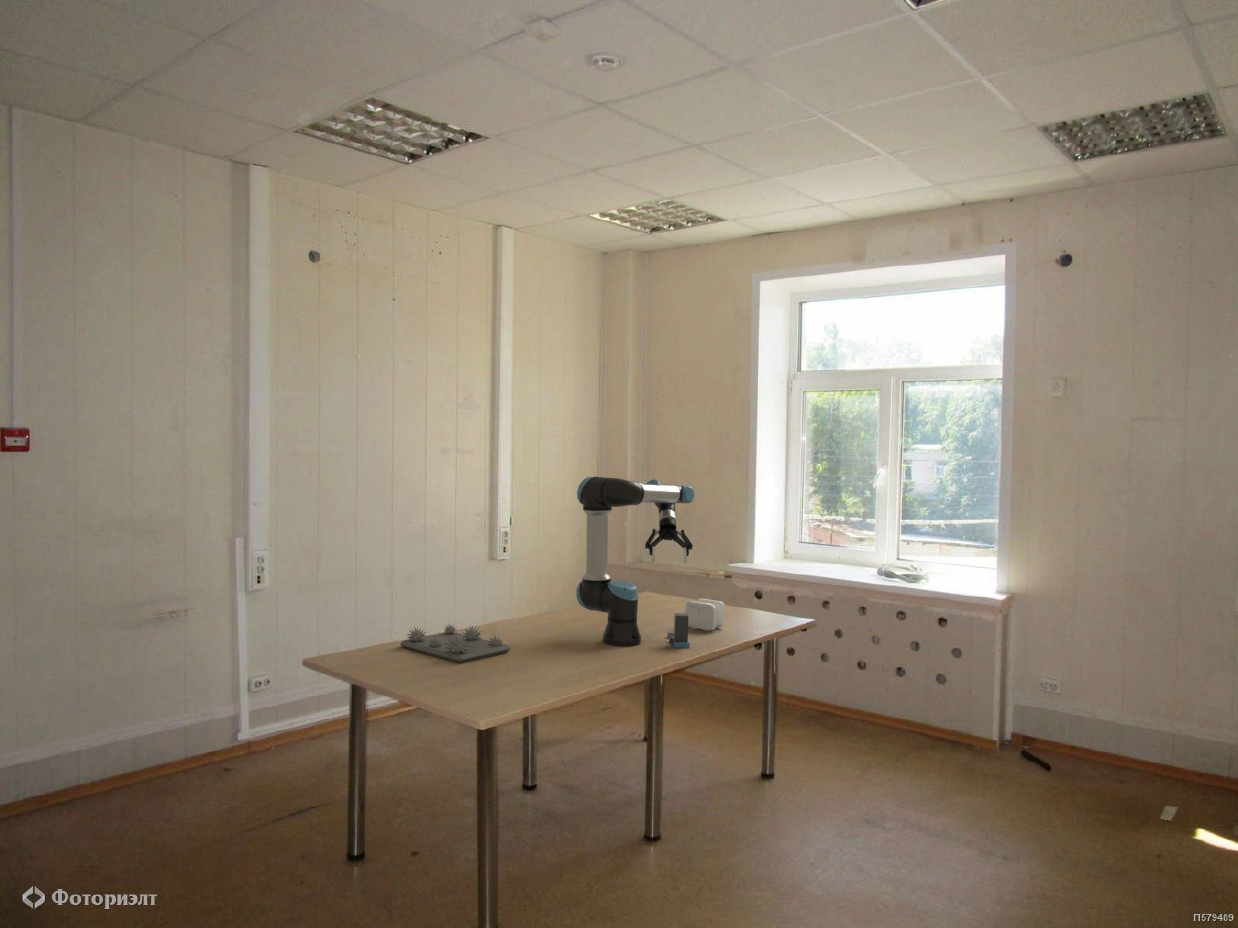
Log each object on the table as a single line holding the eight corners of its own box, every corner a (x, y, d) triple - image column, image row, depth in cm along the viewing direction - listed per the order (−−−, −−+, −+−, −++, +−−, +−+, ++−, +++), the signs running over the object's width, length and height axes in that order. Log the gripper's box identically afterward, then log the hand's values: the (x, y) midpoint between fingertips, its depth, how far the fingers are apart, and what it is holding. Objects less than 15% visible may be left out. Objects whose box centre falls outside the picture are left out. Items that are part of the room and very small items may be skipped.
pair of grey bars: (669, 642, 329) (669, 637, 329) (667, 637, 338) (667, 632, 338) (684, 642, 329) (684, 637, 329) (682, 637, 338) (682, 632, 338)
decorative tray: (512, 653, 305) (513, 626, 305) (456, 666, 285) (457, 637, 285) (451, 638, 327) (452, 613, 327) (396, 648, 308) (397, 622, 307)
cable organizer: (726, 629, 357) (727, 602, 357) (712, 632, 349) (713, 605, 349) (697, 623, 367) (698, 597, 367) (683, 627, 359) (684, 600, 359)
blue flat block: (674, 647, 320) (674, 642, 320) (671, 642, 329) (672, 637, 329) (689, 647, 320) (689, 642, 320) (686, 642, 329) (687, 637, 329)
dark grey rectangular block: (674, 646, 322) (675, 615, 322) (673, 643, 327) (674, 613, 327) (687, 646, 322) (688, 616, 322) (686, 643, 327) (687, 613, 327)
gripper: (695, 528, 367) (698, 567, 352) (638, 527, 366) (639, 565, 351) (696, 517, 361) (700, 556, 346) (639, 516, 360) (640, 554, 346)
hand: (669, 561), depth 349 cm, fingers open, 13 cm apart
